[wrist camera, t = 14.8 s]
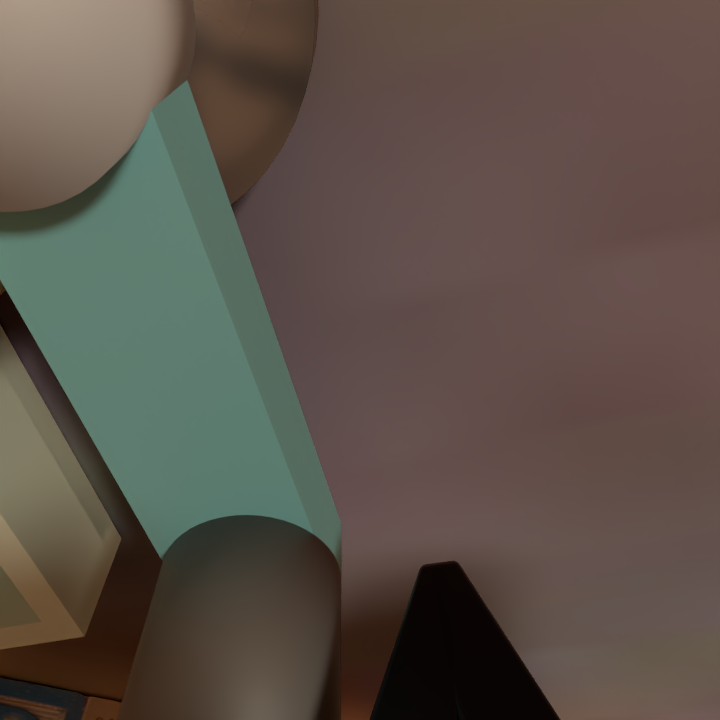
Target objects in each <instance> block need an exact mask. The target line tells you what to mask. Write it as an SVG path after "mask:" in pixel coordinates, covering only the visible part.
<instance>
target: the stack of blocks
mask: <svg viewBox="0 0 720 720" xmlns="http://www.w3.org/2000/svg"><path fill="white" fill-rule="evenodd" d="M120 706H121V702H117V701H112V700H107V699H102V698H97V697H86V696H84V695H82V694H80V693H76V692H71V691H66V690H61V689H56V688H51V687H46V686H41V685H36V684H31V683H26V682H20V681H15V680H9V679H3V678H0V720H116V719H117V716H118V713H119V709H120Z"/></svg>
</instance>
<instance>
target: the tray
mask: <svg viewBox="0 0 720 720" xmlns="http://www.w3.org/2000/svg"><path fill="white" fill-rule="evenodd" d="M120 541H121V537H120V535H119V533H118V532H117V530H116V528H115V526H114V524H113V523H112V521H111V519H110V517H109V516H108V514H107V512H106V510H105V509H104V507H103V505H102V503H101V502H100V500H99V498H98V496H97V494H96V493H95V491H94V489H93V487H92V486H91V484H90V482H89V480H88V479H87V477H86V475H85V473H84V472H83V470H82V468H81V466H80V464H79V463H78V461H77V459H76V457H75V456H74V454H73V452H72V450H71V449H70V447H69V445H68V443H67V442H66V440H65V438H64V436H63V434H62V433H61V431H60V429H59V427H58V426H57V424H56V422H55V420H54V419H53V417H52V415H51V413H50V412H49V410H48V408H47V406H46V404H45V403H44V401H43V399H42V397H41V396H40V394H39V392H38V390H37V389H36V387H35V385H34V383H33V382H32V380H31V378H30V376H29V374H28V373H27V371H26V369H25V367H24V366H23V364H22V362H21V360H20V359H19V357H18V355H17V353H16V352H15V350H14V348H13V346H12V344H11V343H10V341H9V339H8V337H7V336H6V334H5V332H4V330H3V329H2V327H1V325H0V650H1V649H7V648H14V647H20V646H27V645H33V644H40V643H46V642H53V641H59V640H66V639H72V638H79V637H85V634H86V632H87V629H88V626H89V624H90V621H91V618H92V616H93V613H94V610H95V608H96V605H97V602H98V600H99V597H100V595H101V592H102V589H103V587H104V584H105V581H106V579H107V576H108V573H109V571H110V568H111V565H112V563H113V560H114V557H115V555H116V552H117V549H118V547H119V544H120Z"/></svg>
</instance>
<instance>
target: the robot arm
mask: <svg viewBox="0 0 720 720" xmlns="http://www.w3.org/2000/svg"><path fill="white" fill-rule="evenodd" d="M370 720H560V718H559V717H558V715H557V714H556V712H555V711H554V709H553V708H552V706H551V704H550V703H549V701H548V700H547V698H546V697H545V695H544V694H543V692H542V691H541V689H540V688H539V686H538V684H537V683H536V681H535V680H534V678H533V677H532V675H531V674H530V672H529V671H528V669H527V668H526V666H525V664H524V663H523V661H522V660H521V658H520V657H519V655H518V654H517V652H516V651H515V649H514V648H513V646H512V644H511V643H510V641H509V640H508V638H507V637H506V635H505V634H504V632H503V631H502V629H501V628H500V626H499V624H498V623H497V621H496V620H495V618H494V617H493V615H492V614H491V612H490V611H489V609H488V607H487V606H486V604H485V603H484V601H483V600H482V598H481V597H480V595H479V594H478V592H477V591H476V589H475V587H474V586H473V584H472V583H471V581H470V580H469V578H468V577H467V575H466V574H465V572H464V571H463V569H462V567H461V566H460V565H459V563H457V562H456V561H446V562H439V563H432V564H425V565H423V566H422V567H421V568H420V570H419V572H418V575H417V579H416V582H415V585H414V588H413V591H412V594H411V597H410V600H409V603H408V606H407V609H406V612H405V615H404V618H403V621H402V624H401V627H400V630H399V633H398V636H397V639H396V642H395V645H394V648H393V651H392V654H391V657H390V660H389V663H388V666H387V669H386V672H385V675H384V678H383V681H382V684H381V687H380V690H379V693H378V696H377V699H376V702H375V705H374V708H373V711H372V714H371V717H370Z"/></svg>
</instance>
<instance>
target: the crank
mask: <svg viewBox="0 0 720 720" xmlns="http://www.w3.org/2000/svg"><path fill="white" fill-rule="evenodd" d="M195 40H196V20H195V10H194V3H193V0H0V280H1V282H2V284H3V285H4V287H5V289H6V291H7V292H8V294H9V296H10V298H11V299H12V301H13V303H14V304H15V306H16V308H17V310H18V311H19V313H20V315H21V317H22V318H23V320H24V322H25V324H26V325H27V327H28V329H29V331H30V332H31V334H32V336H33V338H34V339H35V341H36V343H37V344H38V346H39V348H40V350H41V351H42V353H43V355H44V357H45V358H46V360H47V362H48V364H49V365H50V367H51V369H52V371H53V372H54V374H55V376H56V378H57V379H58V381H59V383H60V384H61V386H62V388H63V390H64V391H65V393H66V395H67V397H68V398H69V400H70V402H71V404H72V405H73V407H74V409H75V411H76V412H77V414H78V416H79V418H80V419H81V421H82V423H83V424H84V426H85V428H86V430H87V431H88V433H89V435H90V437H91V438H92V440H93V442H94V444H95V445H96V447H97V449H98V451H99V452H100V454H101V456H102V457H103V459H104V461H105V463H106V464H107V466H108V468H109V470H110V471H111V473H112V475H113V477H114V478H115V480H116V482H117V484H118V485H119V487H120V489H121V491H122V492H123V494H124V496H125V497H126V499H127V501H128V503H129V504H130V506H131V508H132V510H133V511H134V513H135V515H136V517H137V518H138V520H139V522H140V524H141V525H142V527H143V529H144V531H145V532H146V534H147V536H148V537H149V539H150V541H151V543H152V544H153V546H154V548H155V550H156V551H157V553H158V555H159V557H160V558H161V560H162V562H163V563H162V566H161V570H160V573H159V576H158V580H157V583H156V587H155V590H154V593H153V597H152V600H151V604H150V607H149V610H148V614H147V617H146V621H145V624H144V627H143V631H142V634H141V638H140V641H139V644H138V648H137V651H136V655H135V658H134V661H133V665H132V668H131V672H130V675H129V678H128V682H127V685H126V689H125V692H124V695H123V699H122V702H121V706H120V709H119V713H118V716H117V719H116V720H341V522H340V519H339V516H338V513H337V511H336V508H335V505H334V502H333V499H332V496H331V493H330V490H329V487H328V485H327V482H326V479H325V476H324V473H323V470H322V467H321V464H320V461H319V459H318V456H317V453H316V450H315V447H314V444H313V441H312V438H311V436H310V433H309V430H308V427H307V424H306V421H305V418H304V415H303V412H302V410H301V407H300V404H299V401H298V398H297V395H296V392H295V389H294V386H293V384H292V381H291V378H290V375H289V372H288V369H287V366H286V363H285V360H284V358H283V355H282V352H281V349H280V346H279V343H278V340H277V337H276V335H275V332H274V329H273V326H272V323H271V320H270V317H269V314H268V311H267V309H266V306H265V303H264V300H263V297H262V294H261V291H260V288H259V285H258V283H257V280H256V277H255V274H254V271H253V268H252V265H251V262H250V259H249V257H248V254H247V251H246V248H245V245H244V242H243V239H242V236H241V233H240V231H239V228H238V225H237V222H236V219H235V216H234V213H233V210H232V208H231V205H230V202H229V199H228V196H227V193H226V190H225V187H224V184H223V182H222V179H221V176H220V173H219V170H218V167H217V164H216V161H215V158H214V156H213V153H212V150H211V147H210V144H209V141H208V138H207V135H206V132H205V130H204V127H203V124H202V121H201V118H200V115H199V112H198V109H197V106H196V104H195V101H194V98H193V95H192V92H191V89H190V86H189V83H188V81H187V79H188V77H189V74H190V71H191V66H192V62H193V57H194V51H195Z"/></svg>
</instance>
